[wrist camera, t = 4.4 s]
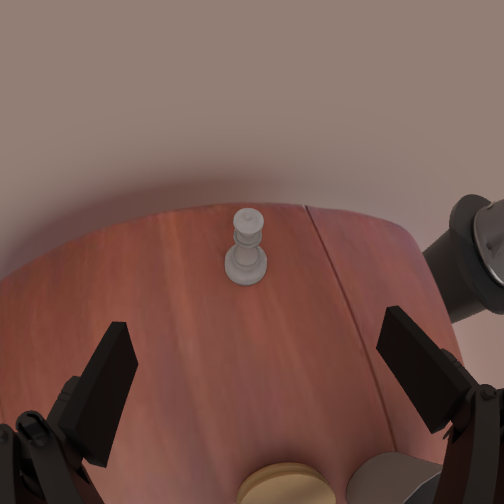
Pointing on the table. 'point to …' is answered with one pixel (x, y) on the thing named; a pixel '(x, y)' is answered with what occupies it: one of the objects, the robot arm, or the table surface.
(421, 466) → the cup
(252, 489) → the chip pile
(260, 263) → the chess piece
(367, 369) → the table surface
